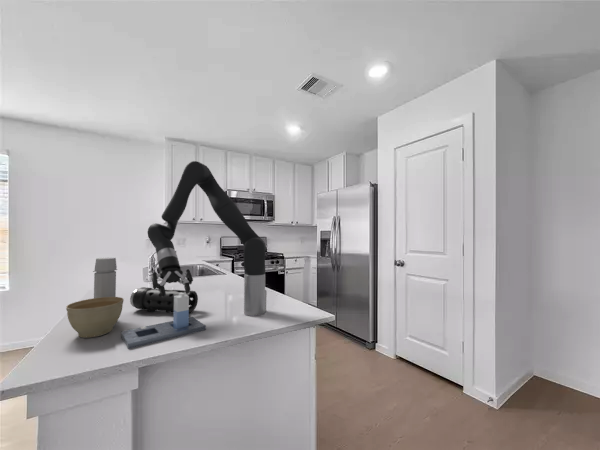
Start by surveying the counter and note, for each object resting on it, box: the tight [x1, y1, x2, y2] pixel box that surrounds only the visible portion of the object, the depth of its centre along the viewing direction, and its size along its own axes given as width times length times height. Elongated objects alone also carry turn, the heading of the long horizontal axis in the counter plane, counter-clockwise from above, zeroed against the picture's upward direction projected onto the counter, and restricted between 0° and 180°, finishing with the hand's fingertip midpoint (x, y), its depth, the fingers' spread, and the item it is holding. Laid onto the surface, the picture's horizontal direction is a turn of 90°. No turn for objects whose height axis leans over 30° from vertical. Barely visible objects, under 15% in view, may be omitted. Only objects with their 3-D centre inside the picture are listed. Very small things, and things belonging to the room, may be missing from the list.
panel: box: [120, 316, 207, 350], centre depth 94 cm, size 24×13×2 cm, turn 132°
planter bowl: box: [65, 296, 125, 339], centre depth 95 cm, size 16×16×11 cm
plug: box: [172, 293, 190, 329], centre depth 98 cm, size 4×4×13 cm
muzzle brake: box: [129, 287, 199, 314], centre depth 120 cm, size 10×28×10 cm, turn 78°
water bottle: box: [92, 257, 118, 298], centre depth 108 cm, size 9×8×25 cm
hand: (176, 294), depth 102 cm, fingers open, 8 cm apart
